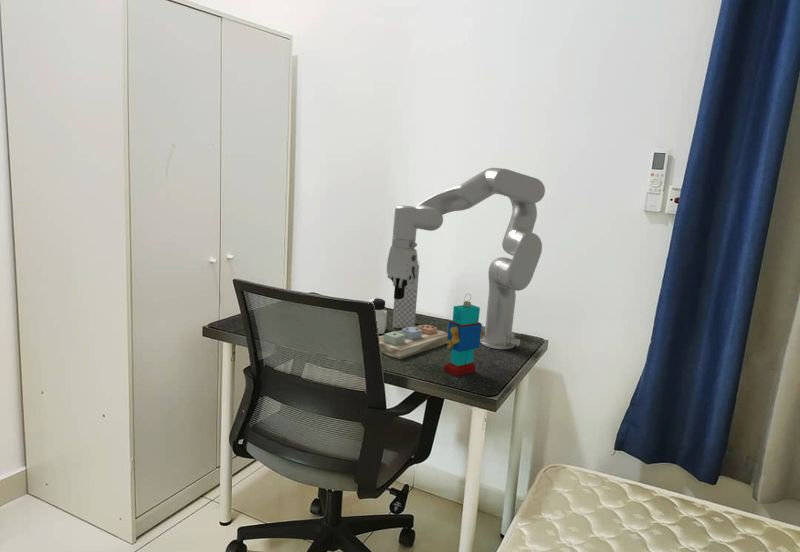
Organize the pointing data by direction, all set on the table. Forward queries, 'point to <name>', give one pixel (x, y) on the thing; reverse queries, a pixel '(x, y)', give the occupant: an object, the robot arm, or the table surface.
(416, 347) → the wooden puzzle board
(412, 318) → the box
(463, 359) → the toy robot
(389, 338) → the button one
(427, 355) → the table surface
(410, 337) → the button two
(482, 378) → the table surface
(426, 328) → the button three
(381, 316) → the medicine bottle
